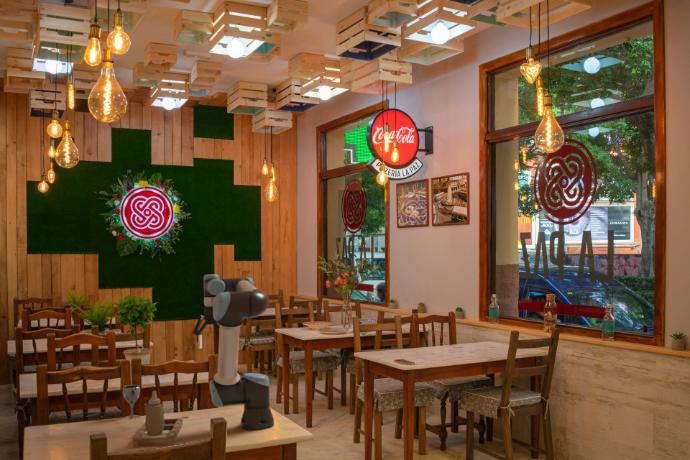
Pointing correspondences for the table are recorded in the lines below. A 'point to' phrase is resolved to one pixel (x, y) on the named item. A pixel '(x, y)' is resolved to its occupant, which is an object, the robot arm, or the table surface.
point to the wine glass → (131, 397)
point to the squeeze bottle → (154, 416)
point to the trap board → (165, 438)
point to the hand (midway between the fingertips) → (213, 348)
